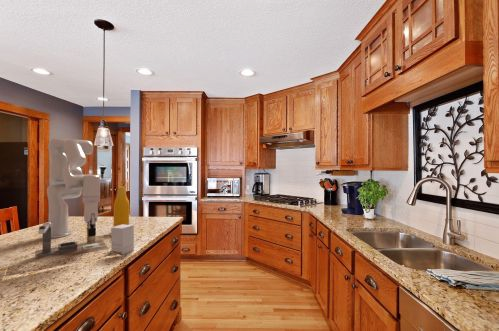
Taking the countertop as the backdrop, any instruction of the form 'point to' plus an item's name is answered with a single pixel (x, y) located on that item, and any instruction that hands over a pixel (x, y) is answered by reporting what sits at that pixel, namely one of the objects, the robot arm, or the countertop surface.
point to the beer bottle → (121, 208)
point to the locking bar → (44, 227)
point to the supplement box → (122, 238)
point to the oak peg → (91, 239)
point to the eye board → (65, 248)
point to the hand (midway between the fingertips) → (91, 234)
